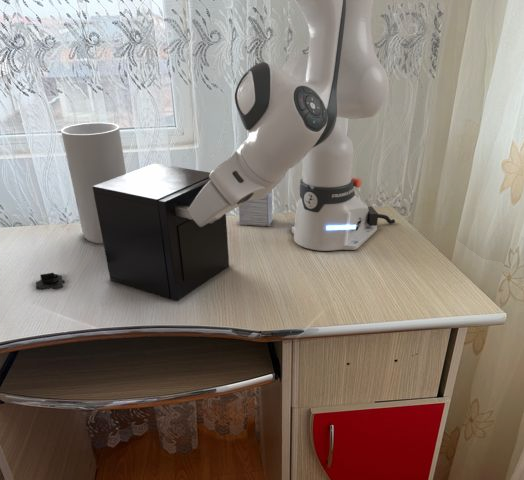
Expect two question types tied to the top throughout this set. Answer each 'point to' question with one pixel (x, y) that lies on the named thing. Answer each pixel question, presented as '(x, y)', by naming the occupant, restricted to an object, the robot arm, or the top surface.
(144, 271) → the oven
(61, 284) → the black irregular piece
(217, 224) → the oven door
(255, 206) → the medicine box
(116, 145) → the cylinder vase
